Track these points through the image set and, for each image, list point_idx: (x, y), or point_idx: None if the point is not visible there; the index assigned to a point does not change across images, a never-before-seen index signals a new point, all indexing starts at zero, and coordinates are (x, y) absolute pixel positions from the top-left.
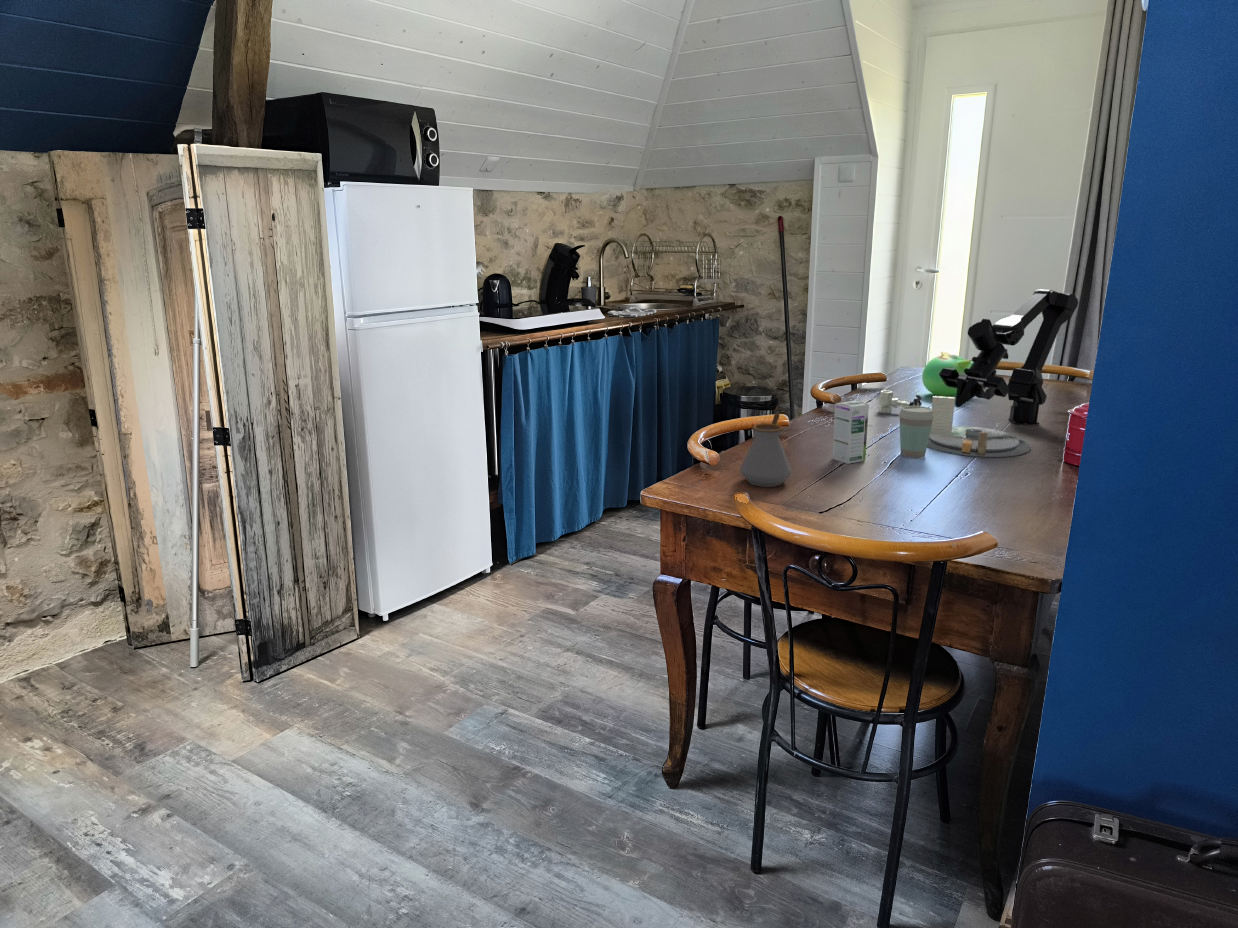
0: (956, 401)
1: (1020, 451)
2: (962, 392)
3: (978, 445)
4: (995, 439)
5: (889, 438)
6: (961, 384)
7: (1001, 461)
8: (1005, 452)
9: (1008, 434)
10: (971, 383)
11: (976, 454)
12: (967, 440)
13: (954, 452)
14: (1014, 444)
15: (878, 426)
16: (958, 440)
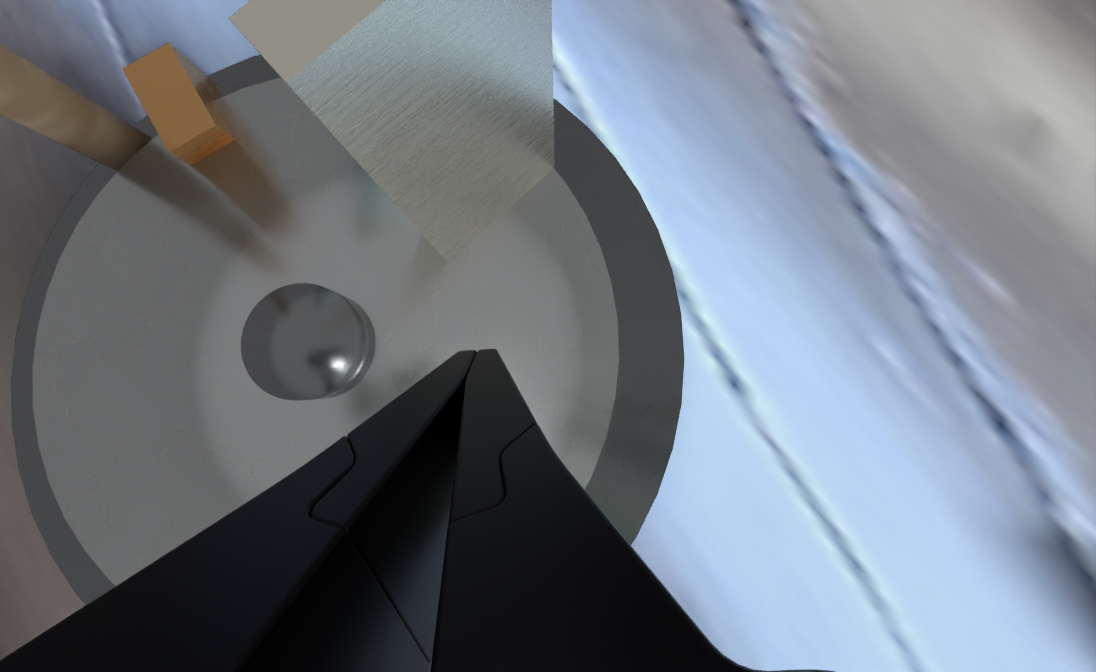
0: (487, 362)
1: None
2: (407, 442)
3: (88, 98)
4: (179, 399)
5: (694, 16)
6: (466, 555)
7: (20, 170)
8: None
9: None
10: (63, 659)
11: (152, 134)
12: (190, 120)
13: (249, 65)
14: (35, 404)
15: (979, 175)
16: (302, 163)
